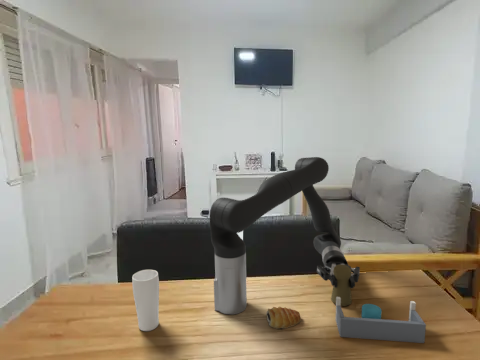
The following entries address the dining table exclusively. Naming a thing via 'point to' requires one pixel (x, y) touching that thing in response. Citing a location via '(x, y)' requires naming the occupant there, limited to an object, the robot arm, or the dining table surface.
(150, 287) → the drinking glass
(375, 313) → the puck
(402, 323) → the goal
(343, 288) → the cork
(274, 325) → the pastry
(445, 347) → the dining table surface
